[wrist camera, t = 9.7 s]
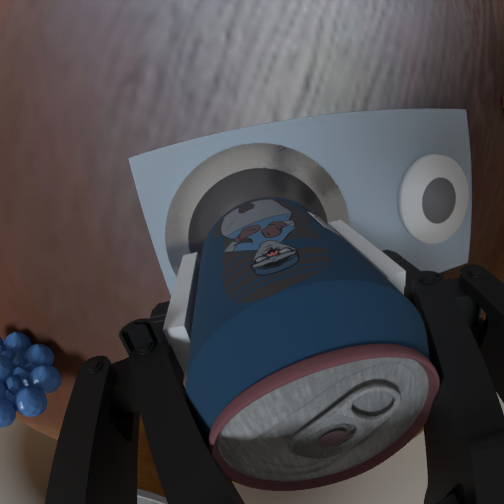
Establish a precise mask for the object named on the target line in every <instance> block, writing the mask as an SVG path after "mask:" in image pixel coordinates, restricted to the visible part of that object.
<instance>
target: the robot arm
mask: <svg viewBox="0 0 504 504" xmlns="http://www.w3.org/2000/svg"><path fill="white" fill-rule="evenodd" d="M328 225H329V226H330V227H331V228H332V229H333V230H335V231H336V232H337V233H338V234H339V235H340V236H341V237H342V238H344V239H345V240H346V241H347V242H348V243H349V244H350V245H351V246H353V247H354V248H355V249H356V250H357V251H358V252H359V253H360V254H361V255H362V256H363V257H365V258H366V259H367V260H368V261H369V262H370V263H371V264H372V265H373V266H374V267H375V268H376V269H377V270H378V271H380V272H381V273H382V274H383V275H384V276H385V277H386V278H387V279H388V280H389V281H390V282H391V283H392V284H393V285H394V286H395V287H396V288H397V289H398V290H399V291H400V292H401V293H402V294H403V295H404V296H405V297H406V298H407V299H408V300H409V301H410V302H411V303H412V304H413V305H414V306H415V307H416V309H417V310H418V312H419V314H420V316H421V317H422V320H423V322H424V325H425V329H426V334H427V340H428V348H429V357H430V362H431V363H432V364H433V366H434V367H435V369H436V371H437V373H438V376H439V380H440V386H439V390H438V392H437V393H436V395H435V397H434V400H433V402H432V406H431V409H430V413H429V417H428V420H427V422H426V423H425V425H424V435H425V445H426V456H427V469H428V486H427V490H426V494H425V499H424V504H504V414H503V411H502V408H501V405H500V402H499V399H498V396H497V393H498V395H499V396H500V398H501V399H502V401H503V403H504V284H503V283H502V282H501V281H500V280H498V279H497V278H496V277H495V276H494V275H492V274H491V273H490V272H489V271H487V270H486V269H484V268H483V267H480V266H478V265H468V266H464V267H462V268H461V270H460V275H459V278H457V279H448V280H445V279H444V277H443V276H442V275H441V274H439V273H437V272H434V271H420V270H419V269H417V268H416V267H415V266H414V265H412V264H411V263H410V262H407V260H406V259H404V258H403V257H402V256H400V255H399V254H398V253H396V252H394V251H391V250H388V249H387V250H383V251H381V250H379V249H378V248H377V247H375V246H374V245H373V244H372V243H370V242H369V241H368V240H367V239H365V238H364V237H363V236H361V235H360V234H359V233H357V232H356V231H355V230H353V229H352V228H351V227H349V226H348V225H347V224H345V223H344V222H343V221H341V220H338V221H333V222H329V223H328ZM199 270H200V260H199V257H198V253H197V252H195V253H191V254H187V255H183V258H182V261H181V265H180V268H179V272H178V275H177V278H176V282H175V285H174V289H173V293H172V296H171V300H170V301H168V302H163V303H159V304H158V305H157V306H156V307H155V308H154V309H153V310H152V313H151V316H150V319H147V318H145V319H138V320H134V321H132V322H130V323H128V324H127V325H126V326H124V327H123V328H122V330H121V331H120V333H119V337H120V339H121V341H122V343H123V345H124V347H125V349H126V351H127V353H128V354H129V357H128V358H126V359H124V360H121V361H118V362H115V363H113V364H111V362H110V360H109V359H108V358H107V357H105V356H96V357H92V358H90V359H88V360H87V361H86V362H85V363H84V364H83V365H82V366H81V368H80V370H79V372H78V375H77V378H76V381H75V384H74V387H73V390H72V393H71V397H70V400H69V403H68V406H67V410H66V413H65V416H64V420H63V423H62V427H61V431H60V434H59V438H58V442H57V447H56V450H55V455H54V459H53V463H52V468H51V473H50V478H49V483H48V488H47V494H46V500H45V504H137V470H138V441H139V423H140V413H141V417H142V421H143V425H144V429H145V433H146V437H147V441H148V444H149V448H150V451H151V455H152V458H153V461H154V464H155V468H156V471H157V474H158V477H159V480H160V483H161V486H162V489H163V491H164V494H165V497H166V500H167V502H168V504H245V503H244V502H243V500H242V498H241V497H240V495H239V493H238V492H237V490H236V488H235V486H234V485H233V483H232V481H231V480H230V479H229V478H228V476H227V475H226V474H225V472H224V471H223V469H222V468H221V466H220V465H219V463H218V462H217V460H216V459H215V458H214V457H213V455H212V454H211V452H210V450H209V446H208V441H207V439H206V438H205V436H204V434H203V432H202V431H201V429H200V427H199V425H198V423H197V421H196V419H195V417H194V415H193V413H192V411H191V409H190V407H189V405H188V403H187V399H186V389H185V387H184V385H183V379H184V377H185V379H186V378H187V368H188V358H189V349H190V340H191V331H192V323H193V315H194V307H195V299H196V292H197V284H198V277H199ZM482 310H484V311H485V313H486V314H487V315H486V319H485V321H484V320H483V319H482V318H481V314H482ZM496 392H497V393H496Z"/></svg>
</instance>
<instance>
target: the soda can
mask: <svg viewBox="0 0 504 504" xmlns="http://www.w3.org/2000/svg"><path fill="white" fill-rule="evenodd" d="M439 386H440V380H439V376H438V373H437V371H436V369H435V367H434V366H433V364H432V363H431V362H430V357H429V348H428V340H427V334H426V329H425V325H424V322H423V320H422V317H421V316H420V314H419V312H418V310H417V309H416V307H415V306H414V305H413V304H412V303H411V302H410V301H409V300H408V299H407V298H406V297H405V296H404V295H403V294H402V293H401V292H400V291H399V290H398V289H397V288H396V287H395V286H394V285H393V284H392V283H391V282H390V281H389V280H388V279H387V278H386V277H385V276H384V275H383V274H382V273H381V272H380V271H378V270H377V269H376V268H375V267H374V266H373V265H372V264H371V263H370V262H369V261H368V260H367V259H366V258H365V257H363V256H362V255H361V254H360V253H359V252H358V251H357V250H356V249H355V248H354V247H353V246H351V245H350V244H349V243H348V242H347V241H346V240H345V239H344V238H342V237H341V236H340V235H339V234H338V233H337V232H336V231H335V230H333V229H332V228H331V227H330V226H329V225H328V224H327V223H325V222H324V221H323V220H322V219H321V218H320V217H318V216H317V215H316V214H315V213H314V212H313V211H311V210H310V209H309V208H307V207H306V206H304V205H302V204H300V203H298V202H295V201H292V200H289V199H285V198H279V197H263V198H257V199H253V200H249V201H246V202H244V203H241V204H239V205H237V206H235V207H234V208H232V209H231V210H229V211H228V212H227V213H225V214H224V215H223V216H222V217H221V218H220V219H219V220H218V221H217V222H216V223H215V225H214V226H213V228H212V229H211V231H210V232H209V234H208V236H207V238H206V241H205V243H204V246H203V250H202V256H201V263H200V270H199V277H198V284H197V292H196V299H195V307H194V315H193V323H192V331H191V340H190V349H189V358H188V368H187V378H186V399H187V403H188V405H189V407H190V409H191V411H192V413H193V415H194V417H195V419H196V421H197V423H198V425H199V427H200V429H201V431H202V432H203V434H204V436H205V438H206V439H207V441H208V446H209V450H210V452H211V454H212V455H213V457H214V458H215V459H216V460H217V462H218V463H219V465H220V466H221V468H222V469H223V471H224V472H225V474H226V475H227V476H228V478H229V479H230V480H232V481H234V482H236V483H239V484H241V485H244V486H248V487H251V488H256V489H262V490H271V491H295V490H304V489H311V488H316V487H321V486H325V485H329V484H333V483H337V482H340V481H343V480H346V479H349V478H352V477H354V476H357V475H359V474H362V473H364V472H366V471H368V470H370V469H372V468H374V467H375V466H377V465H379V464H380V463H382V462H384V461H385V460H387V459H388V458H389V457H391V456H392V455H394V454H395V453H396V452H398V451H399V450H400V449H401V448H403V447H404V446H405V445H406V444H407V443H408V442H409V441H410V440H411V439H412V438H413V437H414V436H415V435H416V434H417V433H418V432H419V431H420V430H421V429H422V427H423V426H424V425H425V423H426V422H427V420H428V417H429V413H430V409H431V406H432V402H433V400H434V397H435V395H436V393H437V392H438V390H439Z"/></svg>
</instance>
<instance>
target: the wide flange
mask: <svg viewBox="0 0 504 504" xmlns="http://www.w3.org/2000/svg"><path fill="white" fill-rule="evenodd" d="M263 197H279V198H285V199H289V200H292V201H295V202H298V203H300V204H302V205H304V206H306V207H307V208H309V209H310V210H311V211H313V212H314V213H315V214H316V215H317V216H318V217H320V218H321V219H322V220H323V221H324V222H325V223H327V224H328V223H329V222H333V221H338V220H341V221H343V222H344V223H345V224H347V225H348V226H349V219H348V213H347V208H346V205H345V202H344V198H343V196H342V194H341V192H340V190H339V188H338V186H337V185H336V183H335V182H334V180H333V178H332V177H331V176H330V175H329V174H328V173H327V171H326V170H325V169H324V168H323V167H322V166H320V165H319V164H318V163H317V162H316V161H314V160H313V159H311V158H310V157H308V156H307V155H305V154H303V153H301V152H299V151H296V150H294V149H292V148H288V147H285V146H281V145H276V144H269V143H248V144H241V145H237V146H233V147H230V148H226V149H224V150H222V151H220V152H217V153H215V154H214V155H212V156H210V157H209V158H207V159H205V160H204V161H203V162H202V163H200V164H199V165H198V166H197V167H195V168H194V169H193V171H192V172H191V173H190V174H189V175H188V176H187V177H186V178H185V179H184V181H183V182H182V184H181V185H180V186H179V188H178V189H177V191H176V193H175V195H174V197H173V199H172V201H171V204H170V207H169V210H168V213H167V219H166V224H165V243H166V251H167V255H168V259H169V262H170V264H171V267H172V269H173V271H174V273H175V275H176V277H177V275H178V272H179V268H180V265H181V261H182V258H183V255H187V254H191V253H195V252H197V253H198V257H199V260H200V263H201V256H202V250H203V246H204V243H205V241H206V238H207V236H208V234H209V232H210V231H211V229H212V228H213V226H214V225H215V223H216V222H217V221H218V220H219V219H220V218H221V217H222V216H223V215H224V214H225V213H227V212H228V211H229V210H231V209H232V208H234V207H235V206H237V205H239V204H241V203H244V202H246V201H249V200H253V199H257V198H263Z"/></svg>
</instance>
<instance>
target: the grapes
mask: <svg viewBox="0 0 504 504" xmlns="http://www.w3.org/2000/svg"><path fill="white" fill-rule="evenodd" d="M53 360H54V354H53V352H52V350H51V349H50V348H49V347H48V346H46V345H43V344H34V345H32V344H31V341H30V338H29V337H28V336H27V335H25V334H23V333H21V332H13V333H11V334H9V335H8V336H7V337H6V338H5V339H4V343H3V340H2V338H1V337H0V428H3V427H6V426H9V425H11V424H12V422H13V421H14V420H15V417H16V410H17V411H18V412H19V413H21V414H22V415H25V416H29V417H34V416H37V415H40V414H42V413H43V412H44V410H45V409H46V405H47V398H46V396H45V393H51V392H53V391H56V390H57V389H58V387H59V386H60V384H61V375H60V373H59V371H58V370H57V369H56V368H55V367H54V366H51V365H52V364H53Z"/></svg>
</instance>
